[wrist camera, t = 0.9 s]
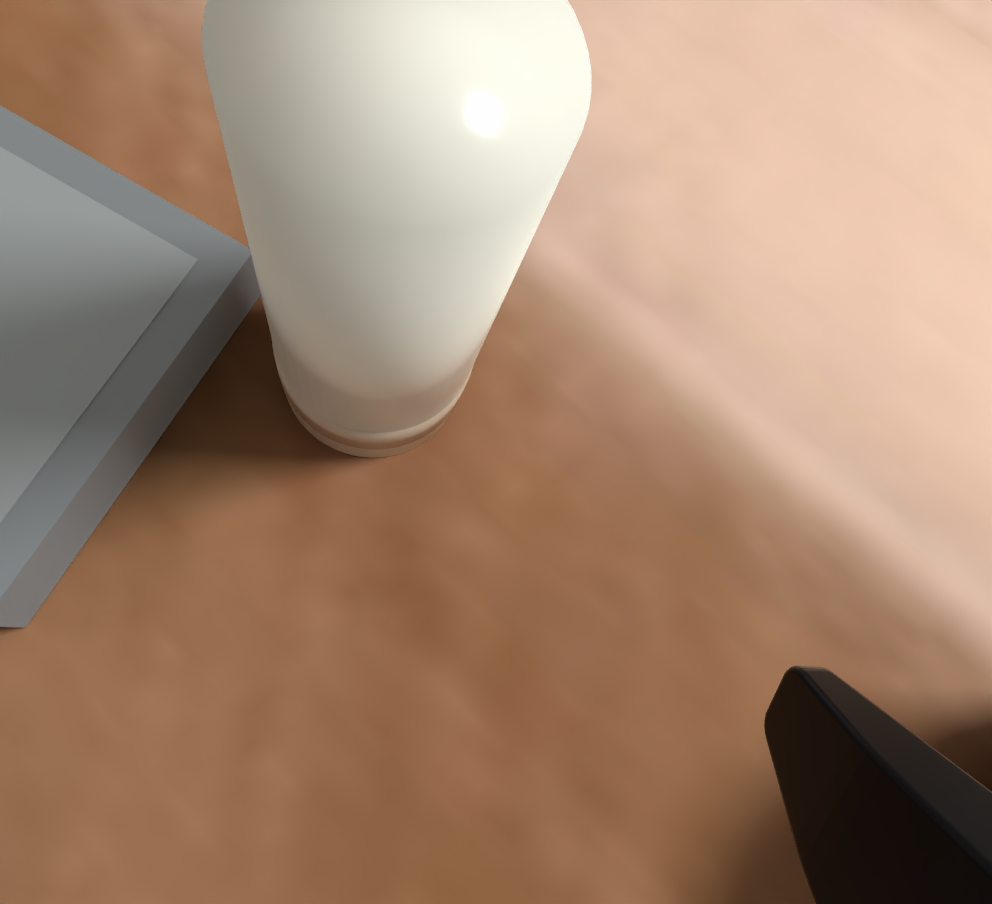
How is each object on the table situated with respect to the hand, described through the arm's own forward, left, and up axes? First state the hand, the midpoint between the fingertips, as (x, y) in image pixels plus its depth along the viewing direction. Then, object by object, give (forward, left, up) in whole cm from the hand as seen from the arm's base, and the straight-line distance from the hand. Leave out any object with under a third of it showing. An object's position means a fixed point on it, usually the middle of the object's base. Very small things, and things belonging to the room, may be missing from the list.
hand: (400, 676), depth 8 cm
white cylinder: (+7, +4, -13) cm, 15 cm away
